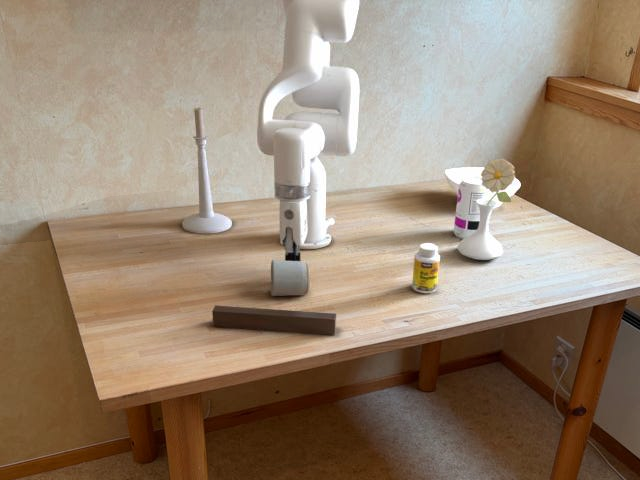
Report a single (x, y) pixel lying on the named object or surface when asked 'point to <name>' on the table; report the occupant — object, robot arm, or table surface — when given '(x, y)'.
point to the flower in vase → (488, 211)
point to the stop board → (274, 320)
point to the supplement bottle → (426, 268)
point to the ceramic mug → (289, 278)
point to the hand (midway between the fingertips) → (292, 269)
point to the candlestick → (204, 190)
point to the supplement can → (468, 206)
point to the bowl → (458, 174)
